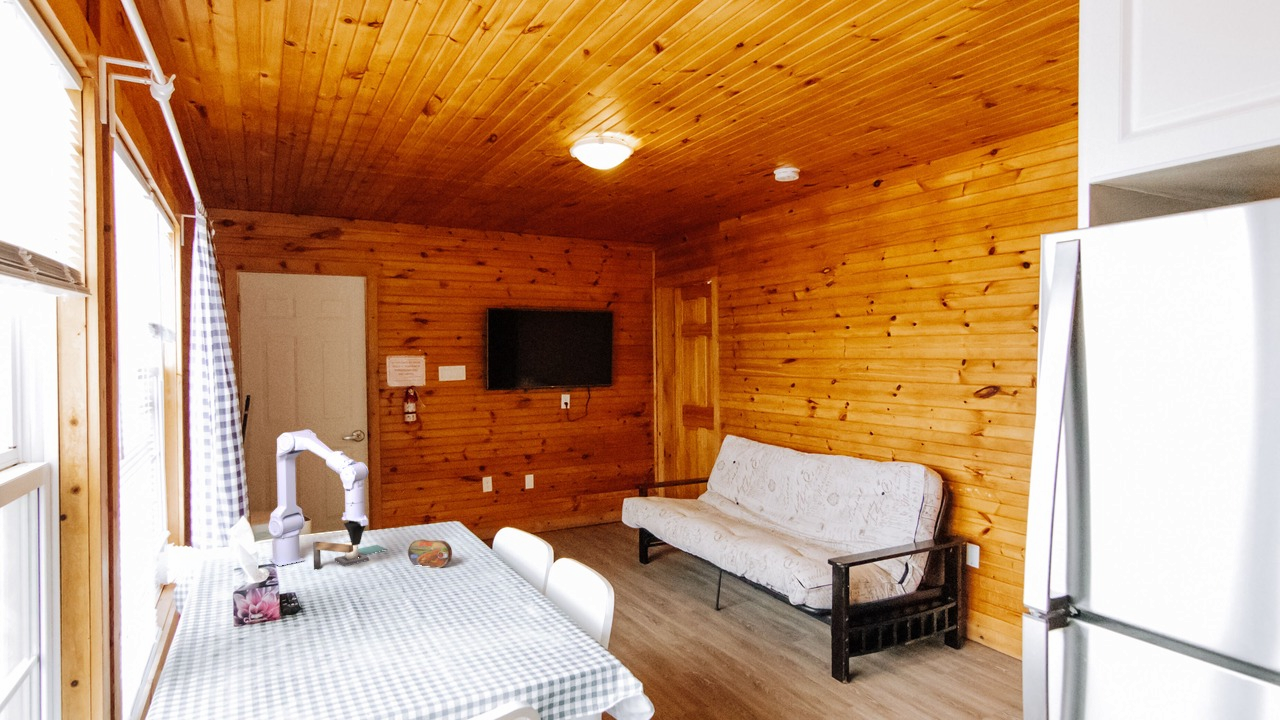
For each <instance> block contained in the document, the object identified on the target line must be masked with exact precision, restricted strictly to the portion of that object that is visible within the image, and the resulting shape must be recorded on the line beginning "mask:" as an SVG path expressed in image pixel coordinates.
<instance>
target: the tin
mask: <svg viewBox="0 0 1280 720" xmlns="http://www.w3.org/2000/svg"><path fill="white" fill-rule="evenodd" d="M407 557H408V559H409V561H410V563H411V564H412V565H413V566H415V565H422V566H430V567H429V568H432V567H440V568H439V569H441V568H444V566H445V567H446V566H447V565H448V564H449V563H450V562H451V560H452V557H453V550H452V547H451V545H450V544H449V543H448V542H447V541H446V540H442V539H441V540H439V539H417V540H415V541H412V542H411V544H410V545H409V546H408V551H407Z"/></svg>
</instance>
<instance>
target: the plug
mask: <svg viewBox="0 0 1280 720" xmlns="http://www.w3.org/2000/svg"><path fill="white" fill-rule="evenodd" d="M344 544H349V545H352V543H351V540H349V541H346V542H344ZM358 549H359V545H353V551H352V552H350V553H346V552H344V556H345V560H346V561H349V560H353V559H358Z"/></svg>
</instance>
